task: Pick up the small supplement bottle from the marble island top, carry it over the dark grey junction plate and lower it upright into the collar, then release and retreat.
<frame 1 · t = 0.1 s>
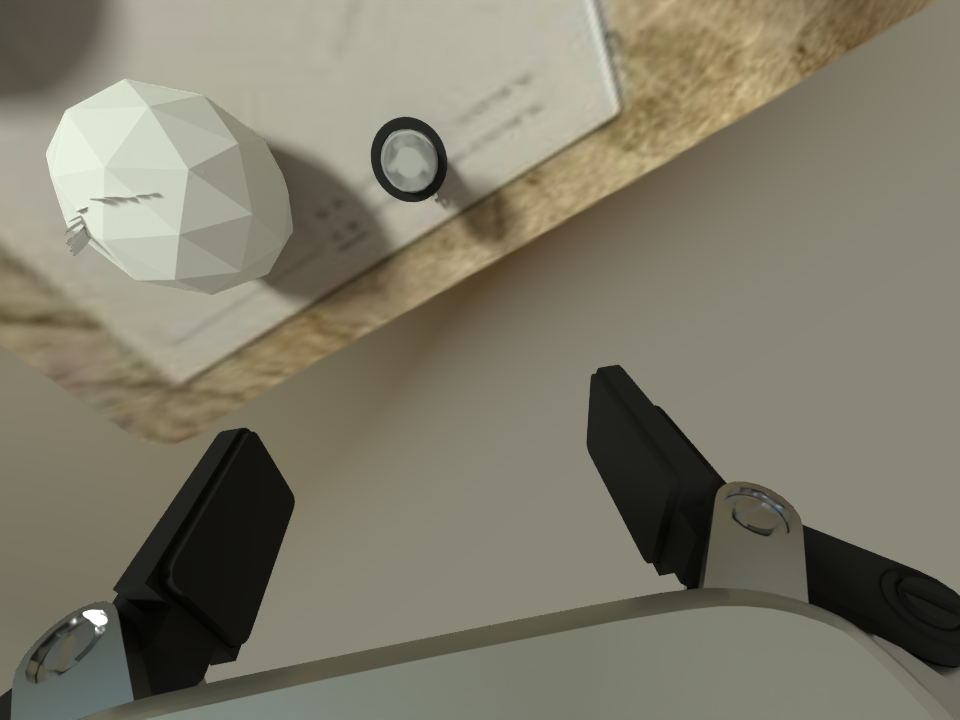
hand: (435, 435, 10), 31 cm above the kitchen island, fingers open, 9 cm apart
geodesic sphere: (230, 186, 33), on the kitchen island
push button: (416, 162, 34), on the kitchen island
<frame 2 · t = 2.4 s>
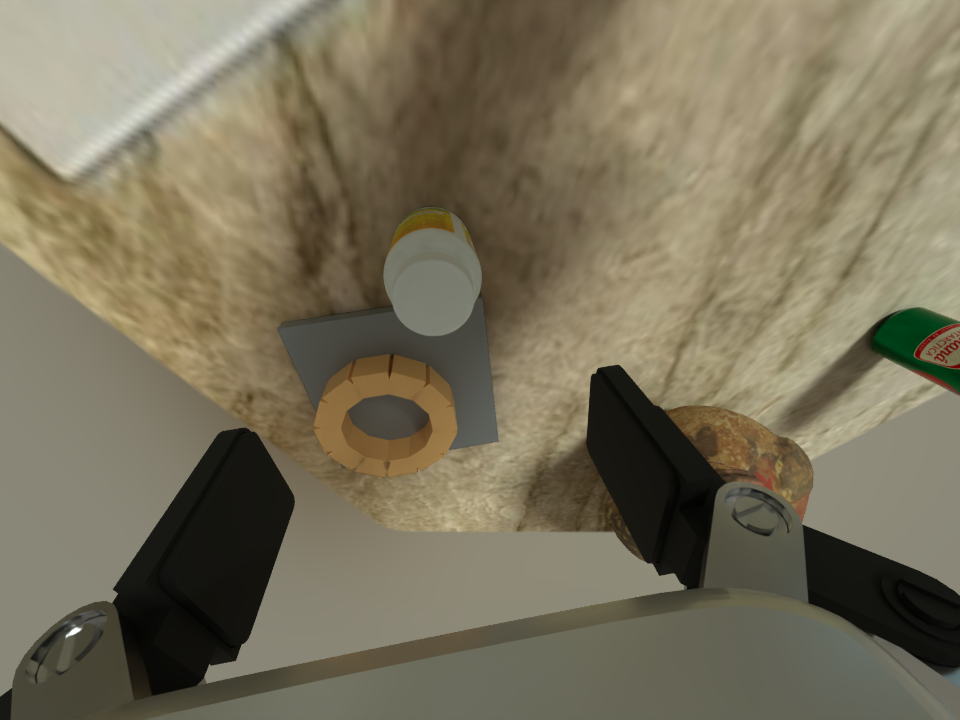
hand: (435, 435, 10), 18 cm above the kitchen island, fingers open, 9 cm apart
collar: (391, 402, 32), resting on junction plate
supplement bottle: (432, 244, 26), on the kitchen island
ceramic vessel: (655, 433, 39), on the kitchen island
junction plate: (404, 386, 32), on the kitchen island
soda can: (891, 328, 35), on the kitchen island
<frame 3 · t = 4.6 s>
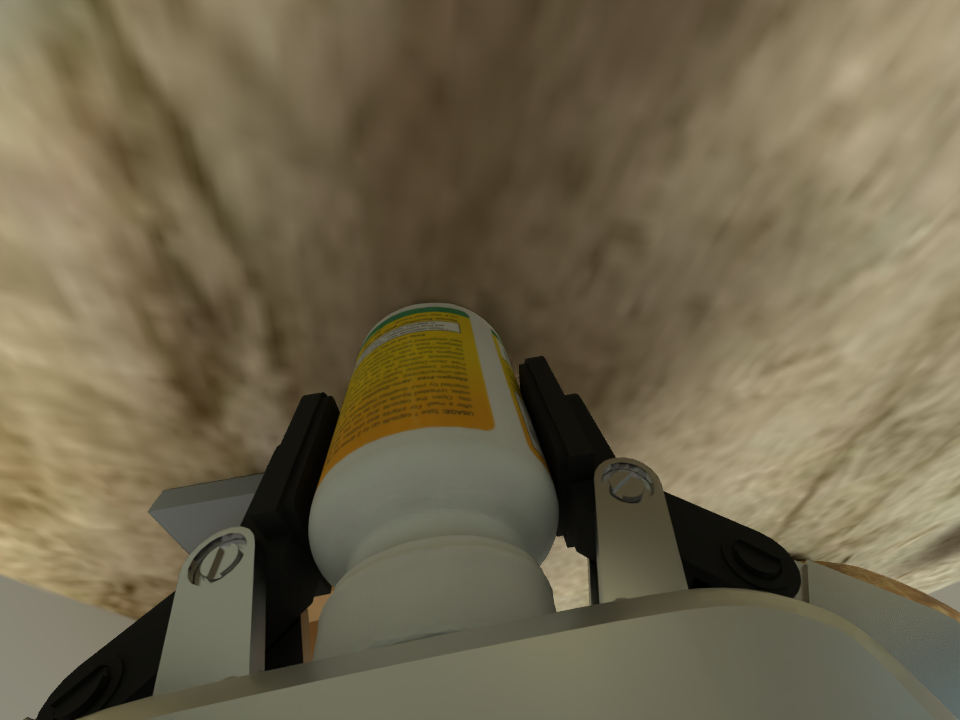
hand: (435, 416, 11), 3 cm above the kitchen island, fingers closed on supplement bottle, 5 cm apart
collar: (367, 575, 20), resting on junction plate
supplement bottle: (432, 361, 14), on the kitchen island, touching gripper
ceramic vessel: (754, 575, 27), on the kitchen island
junction plate: (387, 555, 20), on the kitchen island
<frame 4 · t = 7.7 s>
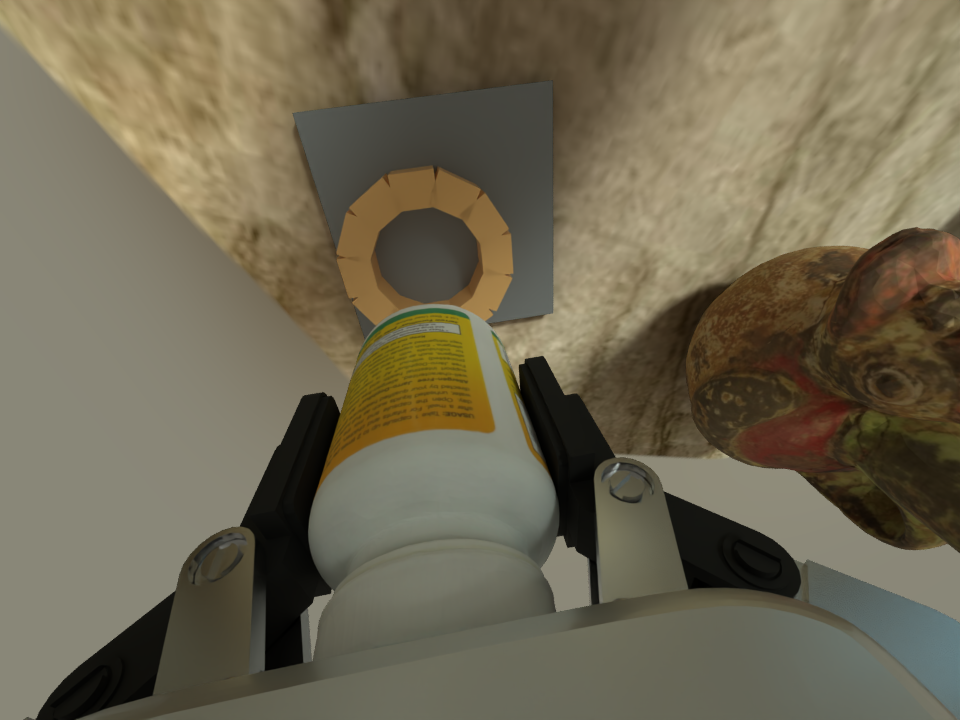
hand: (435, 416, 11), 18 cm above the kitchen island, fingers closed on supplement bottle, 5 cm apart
collar: (427, 251, 27), resting on junction plate
supplement bottle: (433, 362, 14), point 15 cm above the kitchen island, touching gripper
ceramic vessel: (730, 318, 34), on the kitchen island
junction plate: (445, 227, 26), on the kitchen island
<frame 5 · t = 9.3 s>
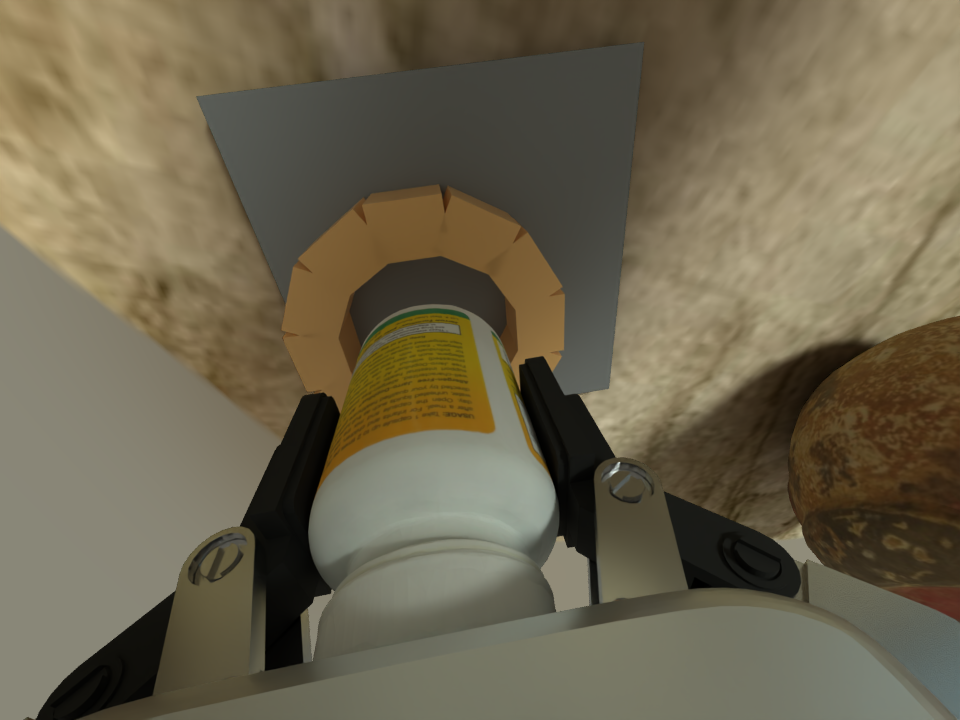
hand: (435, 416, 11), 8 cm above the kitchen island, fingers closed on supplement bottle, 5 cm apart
collar: (430, 309, 18), resting on junction plate
supplement bottle: (433, 362, 14), point 5 cm above the kitchen island, touching gripper
ceramic vessel: (840, 383, 25), on the kitchen island
junction plate: (457, 274, 17), on the kitchen island
when the fingers open (6 cm above the kitchen island, at t = 10.6 s): supplement bottle drops 2 cm, resting on junction plate.
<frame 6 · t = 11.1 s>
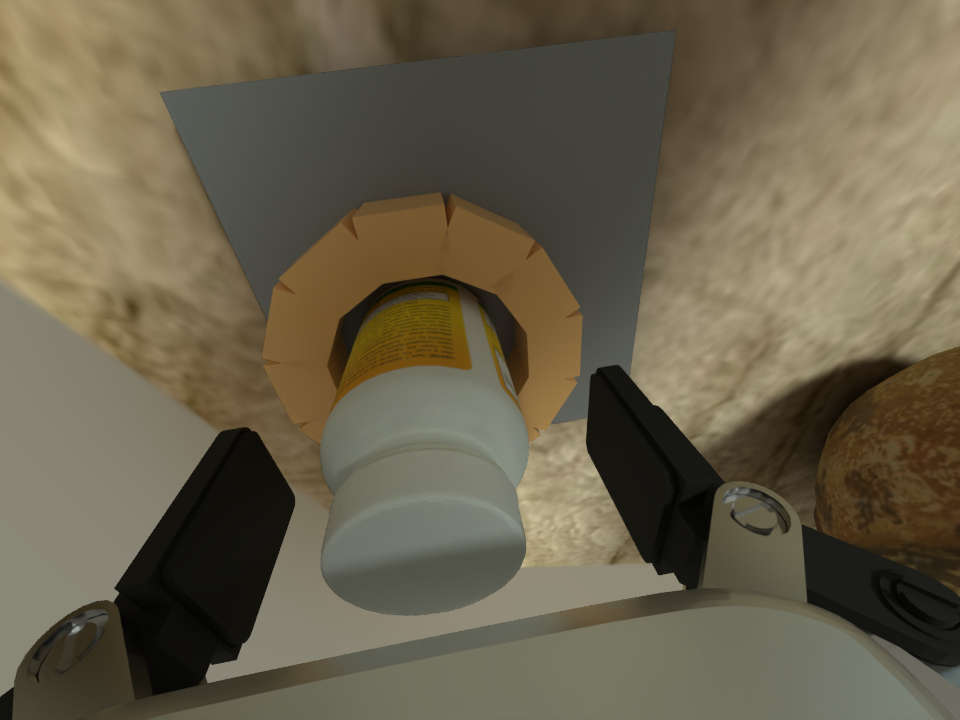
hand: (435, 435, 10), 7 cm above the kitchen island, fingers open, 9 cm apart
collar: (431, 327, 16), resting on junction plate
supplement bottle: (428, 333, 15), point 1 cm above the kitchen island, touching junction plate
ceramic vessel: (869, 401, 23), on the kitchen island
junction plate: (460, 290, 15), on the kitchen island
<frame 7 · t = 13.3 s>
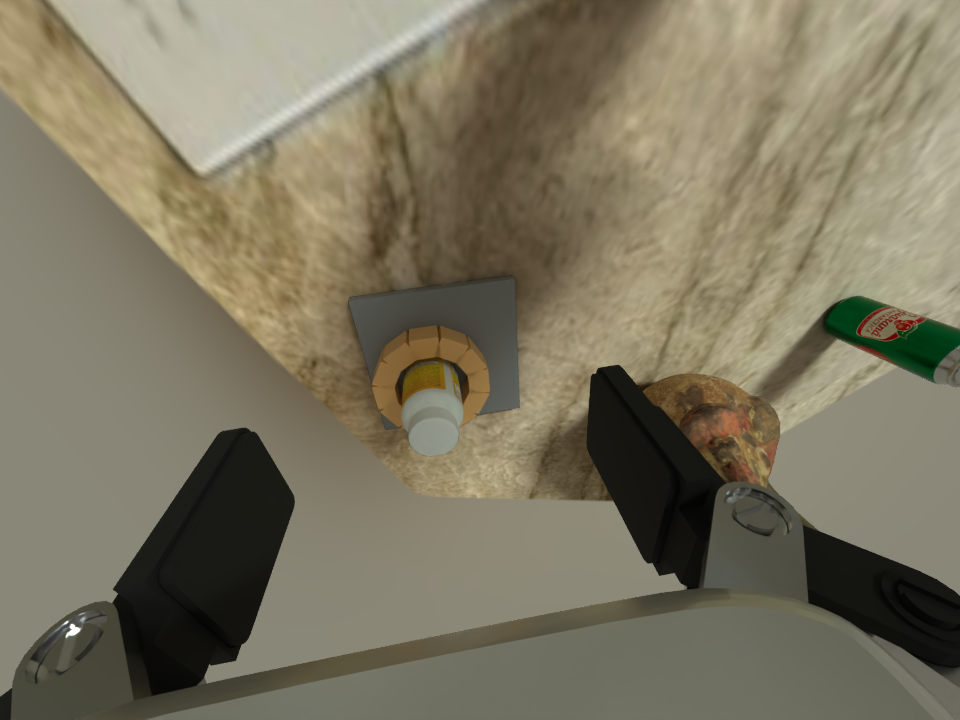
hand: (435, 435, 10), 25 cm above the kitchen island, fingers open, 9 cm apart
collar: (431, 370, 38), resting on junction plate
supplement bottle: (430, 373, 37), point 1 cm above the kitchen island, touching junction plate
ceramic vessel: (651, 404, 46), on the kitchen island
junction plate: (443, 356, 38), on the kitchen island
soda can: (839, 313, 43), on the kitchen island
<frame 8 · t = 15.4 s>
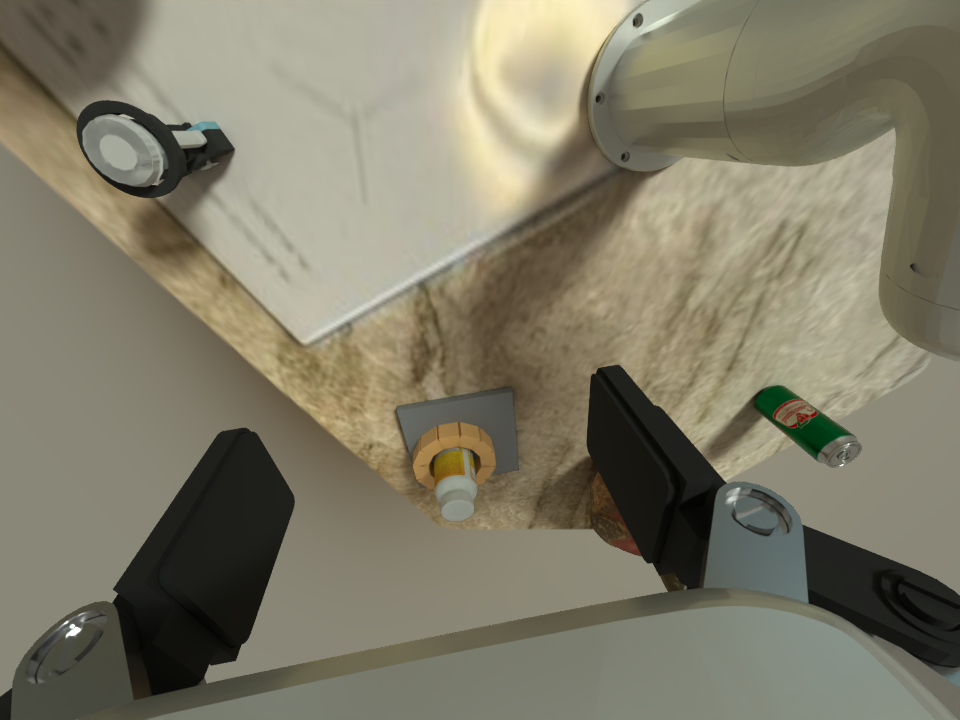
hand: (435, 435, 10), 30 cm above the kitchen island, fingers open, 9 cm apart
collar: (453, 447, 53), resting on junction plate
supplement bottle: (452, 450, 52), point 1 cm above the kitchen island, touching junction plate
ceramic vessel: (621, 462, 59), on the kitchen island
push button: (197, 150, 31), on the kitchen island
junction plate: (462, 438, 52), on the kitchen island
soda can: (767, 395, 56), on the kitchen island
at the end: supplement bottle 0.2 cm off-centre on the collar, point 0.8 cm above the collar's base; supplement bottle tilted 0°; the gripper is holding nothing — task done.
